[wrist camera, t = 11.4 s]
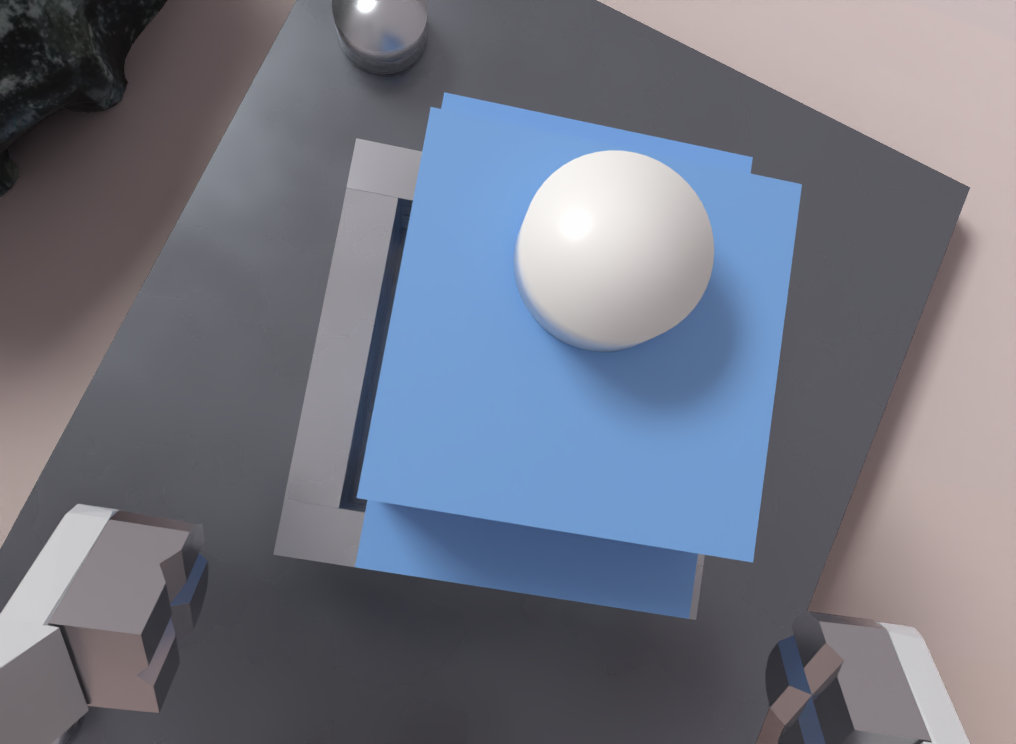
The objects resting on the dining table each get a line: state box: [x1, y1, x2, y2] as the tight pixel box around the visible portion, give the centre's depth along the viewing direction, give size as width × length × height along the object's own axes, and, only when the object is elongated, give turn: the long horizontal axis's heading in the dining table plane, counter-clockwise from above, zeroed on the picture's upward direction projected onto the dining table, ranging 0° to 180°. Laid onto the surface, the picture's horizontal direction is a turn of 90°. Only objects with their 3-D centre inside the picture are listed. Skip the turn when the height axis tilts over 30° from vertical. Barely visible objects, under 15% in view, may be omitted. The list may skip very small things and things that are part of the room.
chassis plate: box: [0, 0, 970, 744], centre depth 15 cm, size 16×22×3 cm
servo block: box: [355, 92, 802, 619], centre depth 12 cm, size 4×6×9 cm
